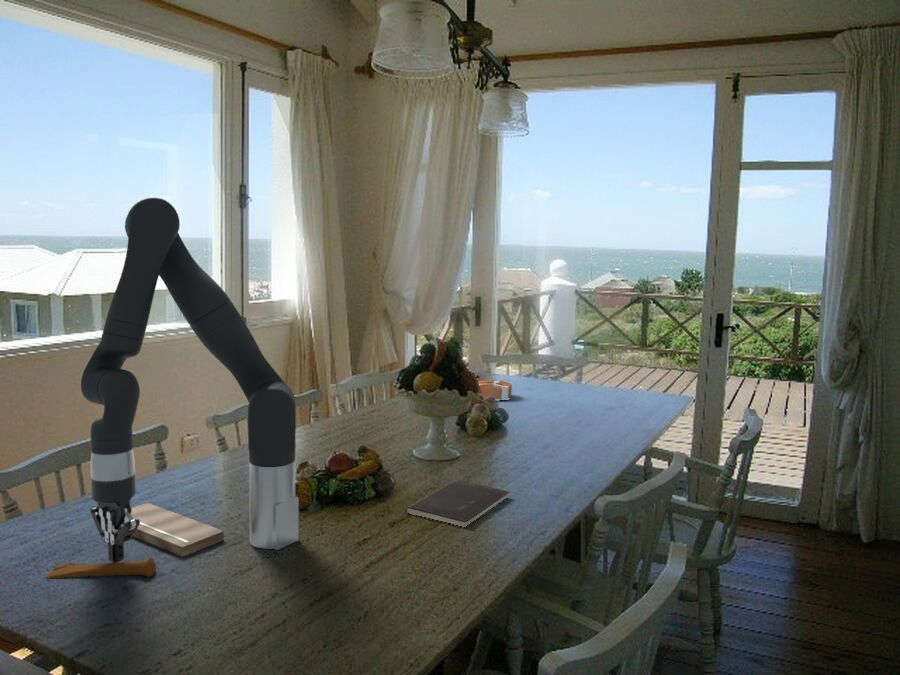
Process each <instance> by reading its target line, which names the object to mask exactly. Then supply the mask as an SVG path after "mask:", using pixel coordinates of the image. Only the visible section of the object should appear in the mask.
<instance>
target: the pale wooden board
mask: <svg viewBox="0 0 900 675" xmlns="http://www.w3.org/2000/svg"><path fill="white" fill-rule="evenodd" d="M131 509H132V511H131V516H132V517H133V519H139V521H140V524H139V526H138V528H137V530H136V531H135V533H134V535H133V538H137V539H139V540H142V541H143V540H144V542H146V543H148V542H149V543H148V544H150V545H153V544H154V546H155V545H156V547H158V546H159V547H158V548H160V547H161V548H160V549H163V548H164V549H163V550H165V549H166V550H165V551H167V550H168V551H167V552H170V553H172V552H173V553H172V554H175V555H176V556H177V555H178V556H180V557H181V558H182V557H183V556H184V557H185V556H188V555H190V553H191V554H194V553H195V552H198V551H200V549H201V550H203V549H206V548H208V547H211V546H213V545H215V544H217V543H220V542H222V541H224V540H225V538H224V537H225V536H224V533H225V531H224V530H223V529H219V528H218V527H215V526H214V527H213V526H211V525H208V524H205V523H203V522H201V521H198V520H195V519H192V518H190V517H187V516H185V515H181V514H179V513H176V512H173V511H171V510H168V509H165V508H163V507H161V506H157V505H154V504H152V503H149V502H145V503H143V504H142V503H141V504H139V505H136V506H135V505H134V506H133V507H132V506H131ZM212 544H213V545H212ZM207 546H208V547H207ZM205 547H206V548H205ZM202 548H203V549H202ZM197 550H198V551H197Z"/></svg>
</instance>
